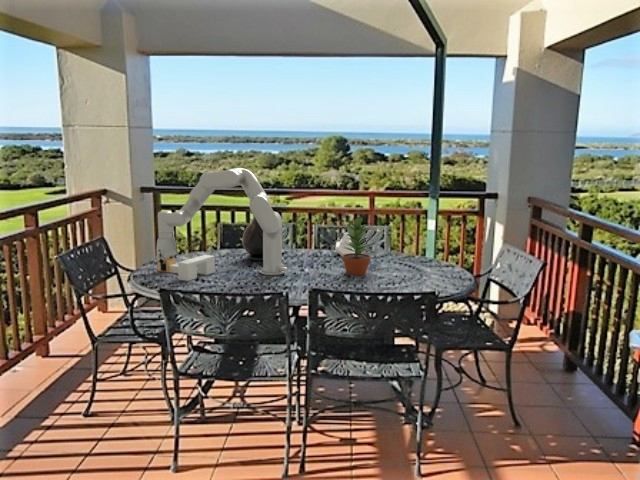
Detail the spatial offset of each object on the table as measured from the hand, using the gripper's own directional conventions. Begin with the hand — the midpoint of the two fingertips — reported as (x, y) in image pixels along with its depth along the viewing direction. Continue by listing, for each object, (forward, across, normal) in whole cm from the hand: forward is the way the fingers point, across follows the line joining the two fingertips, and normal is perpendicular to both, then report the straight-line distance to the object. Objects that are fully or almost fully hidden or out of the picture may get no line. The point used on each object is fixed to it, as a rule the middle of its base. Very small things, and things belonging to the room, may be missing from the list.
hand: (167, 269), depth 280 cm
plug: (+1, 0, +5) cm, 5 cm away
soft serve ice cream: (+1, -85, +61) cm, 104 cm away
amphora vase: (+1, -48, +26) cm, 54 cm away
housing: (+1, 0, +20) cm, 20 cm away
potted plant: (+1, -47, +86) cm, 98 cm away
